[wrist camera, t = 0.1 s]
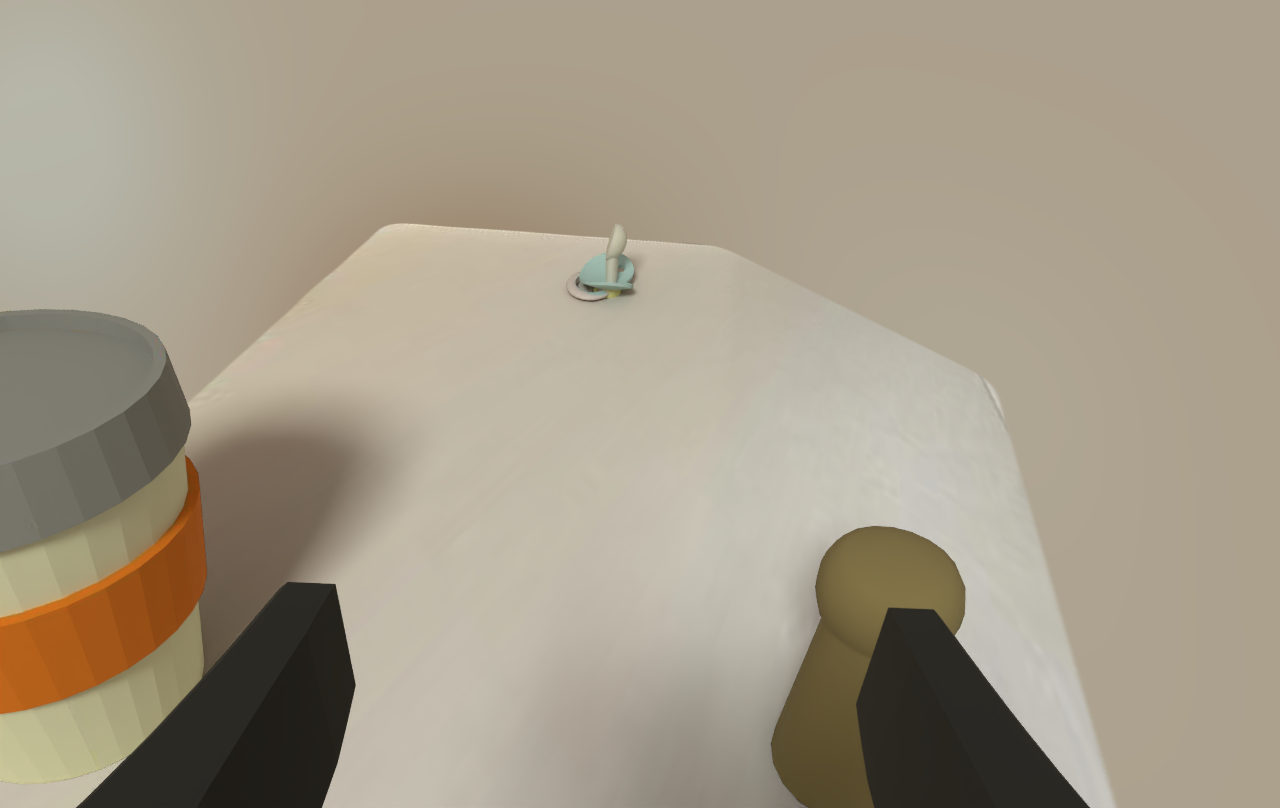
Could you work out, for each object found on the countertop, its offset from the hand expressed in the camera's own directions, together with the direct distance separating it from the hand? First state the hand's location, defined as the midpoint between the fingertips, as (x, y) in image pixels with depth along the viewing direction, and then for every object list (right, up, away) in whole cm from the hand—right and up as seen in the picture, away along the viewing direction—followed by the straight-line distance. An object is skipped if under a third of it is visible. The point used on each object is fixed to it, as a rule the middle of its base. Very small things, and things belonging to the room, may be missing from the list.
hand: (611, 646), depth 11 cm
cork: (+9, -12, +24) cm, 28 cm away
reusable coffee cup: (-23, -9, +25) cm, 35 cm away
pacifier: (-3, +13, +65) cm, 67 cm away
